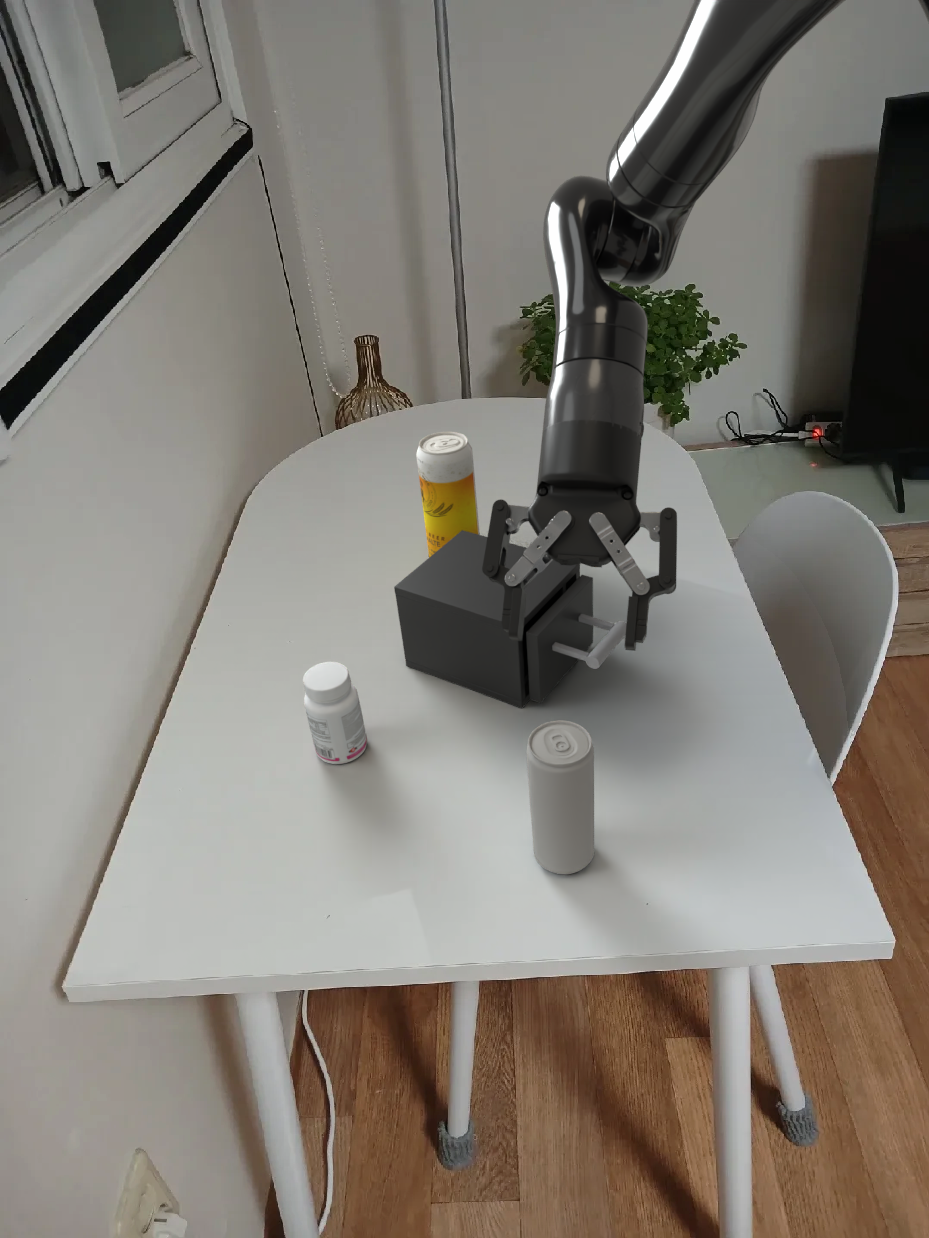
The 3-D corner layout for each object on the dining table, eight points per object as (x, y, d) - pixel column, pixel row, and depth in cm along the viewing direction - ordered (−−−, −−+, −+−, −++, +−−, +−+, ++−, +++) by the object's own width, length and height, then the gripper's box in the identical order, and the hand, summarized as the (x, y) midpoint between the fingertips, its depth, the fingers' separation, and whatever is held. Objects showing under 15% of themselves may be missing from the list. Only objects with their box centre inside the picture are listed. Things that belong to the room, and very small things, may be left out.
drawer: (638, 657, 92) (640, 590, 88) (588, 720, 85) (587, 652, 81) (487, 609, 101) (482, 546, 96) (430, 663, 94) (422, 599, 89)
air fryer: (581, 641, 96) (580, 561, 91) (522, 708, 89) (516, 626, 83) (469, 606, 103) (462, 529, 97) (405, 665, 96) (393, 586, 90)
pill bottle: (363, 724, 89) (349, 653, 84) (372, 758, 85) (358, 686, 80) (312, 736, 88) (295, 665, 83) (319, 771, 84) (301, 698, 79)
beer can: (423, 553, 113) (409, 436, 104) (472, 541, 114) (462, 425, 105) (437, 579, 108) (423, 459, 99) (488, 567, 109) (478, 447, 100)
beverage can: (544, 885, 72) (538, 772, 65) (524, 839, 76) (517, 728, 69) (604, 868, 73) (604, 755, 66) (581, 823, 77) (579, 712, 70)
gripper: (490, 413, 71) (467, 629, 68) (687, 418, 67) (669, 645, 65) (509, 447, 78) (488, 643, 76) (687, 452, 74) (671, 658, 72)
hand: (572, 644), depth 70 cm, fingers open, 8 cm apart
